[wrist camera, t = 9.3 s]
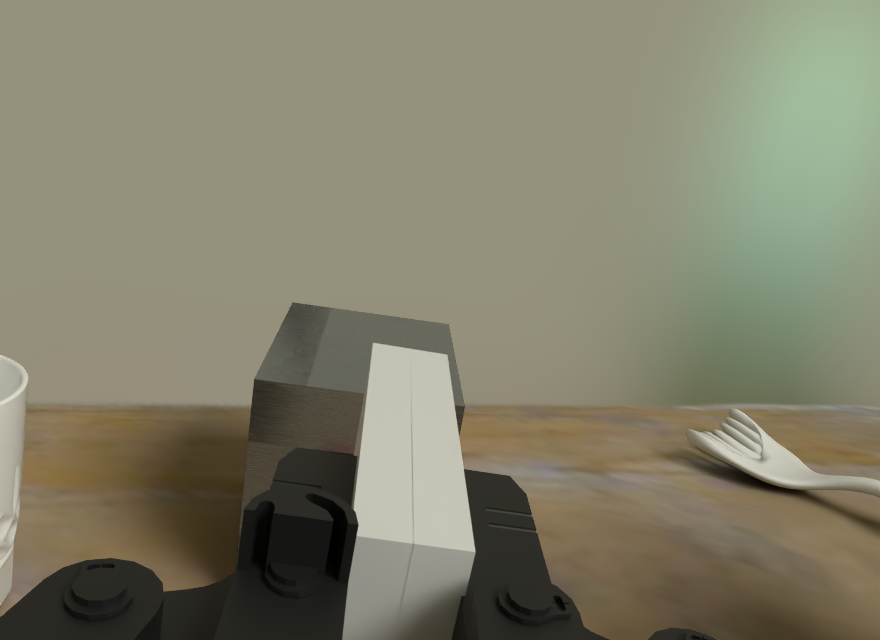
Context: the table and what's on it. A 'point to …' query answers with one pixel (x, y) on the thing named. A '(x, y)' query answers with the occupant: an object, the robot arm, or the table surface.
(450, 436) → the robot arm
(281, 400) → the block
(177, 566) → the table surface
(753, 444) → the white plastic spork
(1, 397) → the white cup
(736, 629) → the table surface
